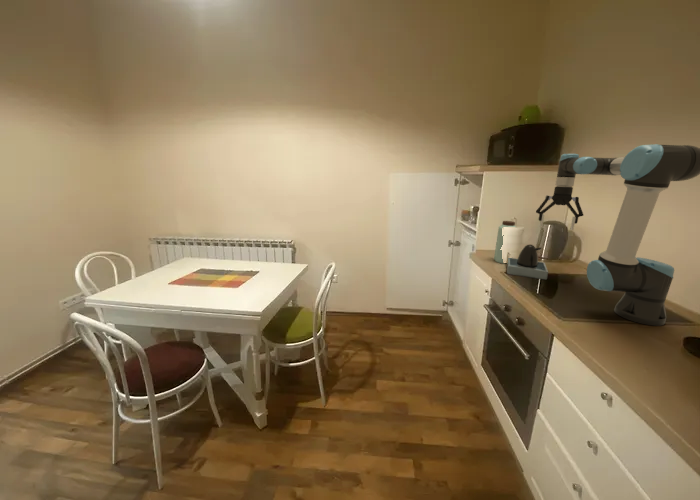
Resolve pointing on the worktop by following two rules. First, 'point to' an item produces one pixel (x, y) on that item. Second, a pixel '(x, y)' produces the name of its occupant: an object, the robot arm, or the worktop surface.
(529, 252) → the pump dispenser
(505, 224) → the water bottle
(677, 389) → the worktop surface
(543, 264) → the bin
